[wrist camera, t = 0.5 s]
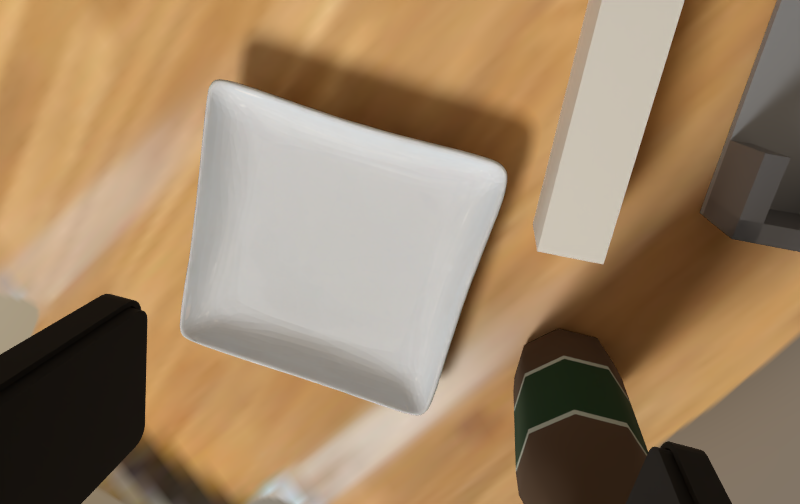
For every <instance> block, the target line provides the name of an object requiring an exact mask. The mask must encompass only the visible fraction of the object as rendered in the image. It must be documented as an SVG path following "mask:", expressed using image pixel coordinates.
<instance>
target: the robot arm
mask: <svg viewBox="0 0 800 504" xmlns="http://www.w3.org/2000/svg"><path fill="white" fill-rule="evenodd" d="M146 353H147V315H146V313H145V312H144V311H142V310H141V307H140V305H139V303H138V302H137V301H134V300H130V299H127V298H123V297H119V296H115V295H111V294H104V295H101V296H100V297H98V298H96V299H95V300H93V301H91V302H89V303H88V304H86V305H84V306H83V307H81V308H79V309H77V310H76V311H74V312H72V313H71V314H69V315H67V316H65V317H64V318H62V319H60V320H59V321H57V322H55V323H54V324H52V325H50V326H48V327H47V328H45V329H43V330H42V331H40V332H38V333H36V334H35V335H33V336H31V337H30V338H28V339H26V340H25V341H23V342H21V343H19V344H18V345H16V346H14V347H13V348H11V349H9V350H7V351H6V352H4V353H2V354H1V355H0V504H81V503H82V502H83V501H84V500H85V499H86V498H87V497H88V496H89V495H90V494H91V493H92V492H93V491H94V490H95V489H96V488H97V487H98V486H99V485H100V483H101V482H102V481H103V480H104V479H105V478H106V477H107V476H108V475H109V474H110V473H111V472H112V471H113V470H114V469H115V468H116V467H117V466H118V465H119V464H120V462H121V461H122V460H123V459H124V458H125V457H126V456H127V455H128V454H129V453H130V452H131V451H132V450H133V449H134V448H135V447H136V445H137V444H138V443H139V441H140V439H141V437H142V435H143V432H144V427H145V396H146ZM626 504H732V503H731V501H730V499H729V497H728V495H727V493H726V492H725V489H724V488H723V485H722V484H721V482H720V480H719V478H718V476H717V474H716V472H715V470H714V468H713V466H712V464H711V462H710V460H709V458H708V456H707V455H706V454H705V452H704V451H702V450H699V449H695V448H692V447H687V446H684V445H680V444H676V443H673V442H669V441H668V442H665V443H664V444H663V445H662V446H661V447H660V448H658V447H652V448H651V449H650V450H649V452H648V454H647V456H646V459H645V461H644V463H643V465H642V468H641V470H640V472H639V475H638V477H637V479H636V481H635V484H634V486H633V488H632V491H631V493H630V495H629V497H628V500H627V502H626Z"/></svg>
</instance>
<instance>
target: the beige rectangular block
mask: <svg viewBox="0 0 800 504" xmlns="http://www.w3.org/2000/svg"><path fill="white" fill-rule="evenodd" d="M684 1H685V0H589V1H588V5H587V9H586V13H585V17H584V21H583V25H582V29H581V33H580V37H579V41H578V45H577V49H576V53H575V57H574V61H573V65H572V69H571V73H570V77H569V81H568V85H567V89H566V93H565V97H564V101H563V105H562V109H561V113H560V117H559V121H558V125H557V129H556V133H555V137H554V141H553V145H552V149H551V153H550V157H549V161H548V165H547V169H546V173H545V177H544V181H543V185H542V189H541V193H540V197H539V201H538V205H537V209H536V213H535V217H534V221H533V228H534V234H535V240H536V246H537V251H538V252H543V253H548V254H553V255H558V256H563V257H568V258H573V259H578V260H584V261H589V262H594V263H599V264H604V261H605V257H606V254H607V251H608V248H609V244H610V241H611V238H612V235H613V231H614V228H615V225H616V222H617V218H618V215H619V212H620V209H621V205H622V202H623V199H624V196H625V192H626V189H627V186H628V183H629V179H630V176H631V173H632V170H633V166H634V163H635V160H636V157H637V153H638V150H639V147H640V144H641V140H642V137H643V134H644V131H645V127H646V124H647V121H648V118H649V114H650V111H651V108H652V105H653V101H654V98H655V95H656V92H657V88H658V85H659V82H660V79H661V75H662V72H663V69H664V66H665V62H666V59H667V56H668V53H669V49H670V46H671V43H672V40H673V36H674V33H675V30H676V27H677V23H678V20H679V17H680V14H681V10H682V7H683V4H684Z"/></svg>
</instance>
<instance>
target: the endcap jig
mask: <svg viewBox="0 0 800 504" xmlns="http://www.w3.org/2000/svg"><path fill="white" fill-rule="evenodd" d="M700 213H701V214H702V215H703V216H704V217H705V218H707V219H708V220H709V221H710V222H712V223H713V224H714V225H715V226H717V227H718V228H719V229H720V230H721V231H723V232H724V233H725V234H726V235H728V236H729V237H730V238H731V239H735V240H740V241H746V242H751V243H756V244H761V245H767V246H772V247H777V248H783V249H788V250H793V251H798V252H800V0H777V2H776V5H775V8H774V10H773V13H772V16H771V19H770V21H769V24H768V27H767V29H766V32H765V35H764V38H763V40H762V43H761V46H760V49H759V51H758V54H757V57H756V60H755V62H754V65H753V68H752V71H751V73H750V76H749V79H748V82H747V84H746V87H745V90H744V93H743V95H742V98H741V101H740V104H739V106H738V109H737V112H736V114H735V117H734V120H733V123H732V125H731V128H730V131H729V134H728V136H727V139H726V142H725V145H724V147H723V150H722V153H721V156H720V158H719V161H718V164H717V167H716V169H715V172H714V175H713V178H712V180H711V183H710V186H709V189H708V191H707V194H706V197H705V200H704V202H703V205H702V208H701V210H700Z"/></svg>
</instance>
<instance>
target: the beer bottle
mask: <svg viewBox="0 0 800 504" xmlns="http://www.w3.org/2000/svg"><path fill="white" fill-rule="evenodd" d="M514 422H515V456H516V477H517V484H518V491H519V496H520V498H521V500H522V501H523V503H524V504H626V502H627V500H628V497H629V495H630V493H631V491H632V488H633V486H634V484H635V481H636V479H637V477H638V475H639V472H640V470H641V468H642V465H643V463H644V461H645V459H646V456H647V454H648V450H647V448H646V445H645V442H644V439H643V436H642V434H641V431H640V428H639V425H638V423H637V420H636V417H635V414H634V412H633V409H632V406H631V403H630V401H629V398H628V395H627V392H626V390H625V387H624V384H623V381H622V379H621V377H620V375H619V373H618V371H617V369H616V367H615V365H614V364H613V362H612V361H611V359H610V358H609V356H608V354H607V353H606V351H605V350H604V348H603V347H602V345H601V343H600V342H599V340H598V339H597V338H594V337H590V336H586V335H582V334H578V333H574V332H569V331H565V330H561V329H557V330H555V331H553V332H550V333H548V334H546V335H544V336H542V337H540V338H538V339H536V340H534V341H532V342H530V343H528V344H526V345H524V348H523V351H522V354H521V357H520V361H519V364H518V367H517V371H516V374H515V378H514Z"/></svg>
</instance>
